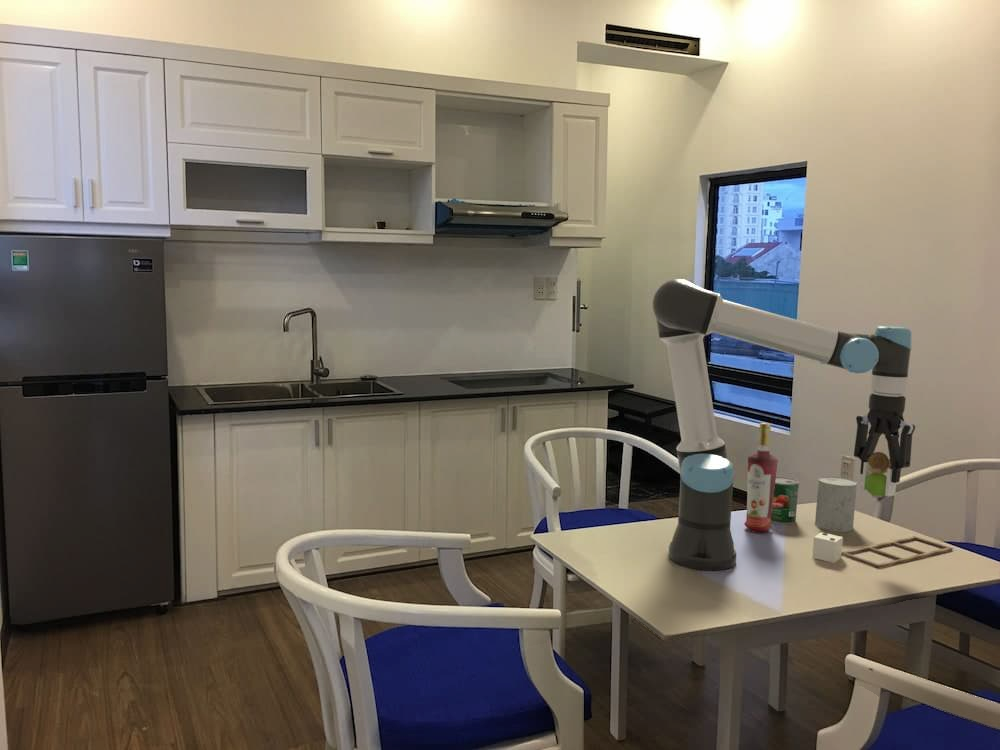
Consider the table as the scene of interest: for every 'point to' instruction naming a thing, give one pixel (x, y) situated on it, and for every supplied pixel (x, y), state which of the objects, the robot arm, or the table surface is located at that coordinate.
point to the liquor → (761, 484)
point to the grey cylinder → (835, 504)
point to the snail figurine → (877, 474)
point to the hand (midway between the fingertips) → (878, 492)
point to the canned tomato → (784, 501)
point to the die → (827, 547)
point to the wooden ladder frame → (898, 559)
